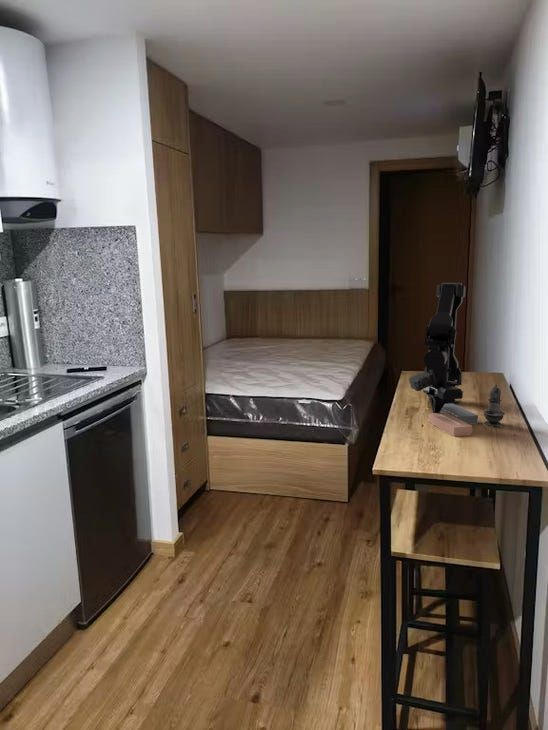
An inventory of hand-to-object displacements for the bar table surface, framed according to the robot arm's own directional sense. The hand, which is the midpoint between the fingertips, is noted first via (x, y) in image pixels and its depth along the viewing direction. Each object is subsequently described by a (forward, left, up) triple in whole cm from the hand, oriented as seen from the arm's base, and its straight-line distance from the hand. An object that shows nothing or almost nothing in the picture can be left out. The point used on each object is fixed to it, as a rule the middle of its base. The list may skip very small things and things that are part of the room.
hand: (435, 415), depth 168 cm
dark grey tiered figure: (+8, +14, -2) cm, 16 cm away
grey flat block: (-1, +7, -2) cm, 7 cm away
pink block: (+8, 0, -2) cm, 8 cm away
